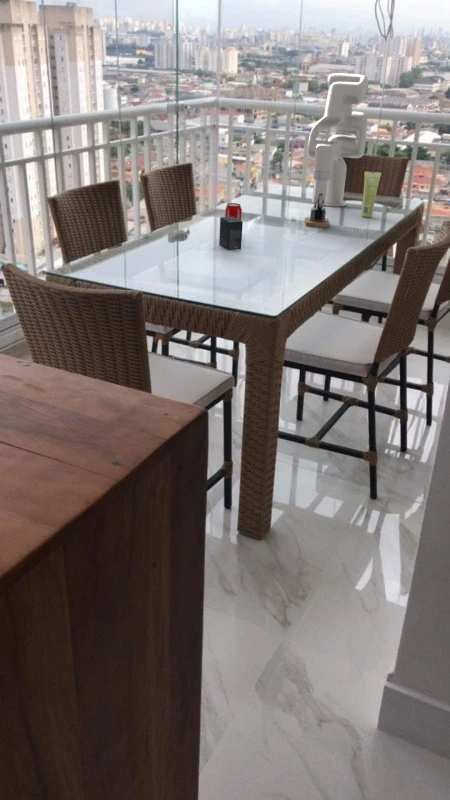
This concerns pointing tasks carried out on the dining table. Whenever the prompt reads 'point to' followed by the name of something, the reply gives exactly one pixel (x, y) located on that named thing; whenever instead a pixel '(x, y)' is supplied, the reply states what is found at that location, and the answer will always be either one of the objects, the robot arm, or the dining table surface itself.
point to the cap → (312, 215)
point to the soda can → (233, 210)
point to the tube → (369, 192)
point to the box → (230, 233)
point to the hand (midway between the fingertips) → (317, 216)
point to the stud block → (316, 223)
